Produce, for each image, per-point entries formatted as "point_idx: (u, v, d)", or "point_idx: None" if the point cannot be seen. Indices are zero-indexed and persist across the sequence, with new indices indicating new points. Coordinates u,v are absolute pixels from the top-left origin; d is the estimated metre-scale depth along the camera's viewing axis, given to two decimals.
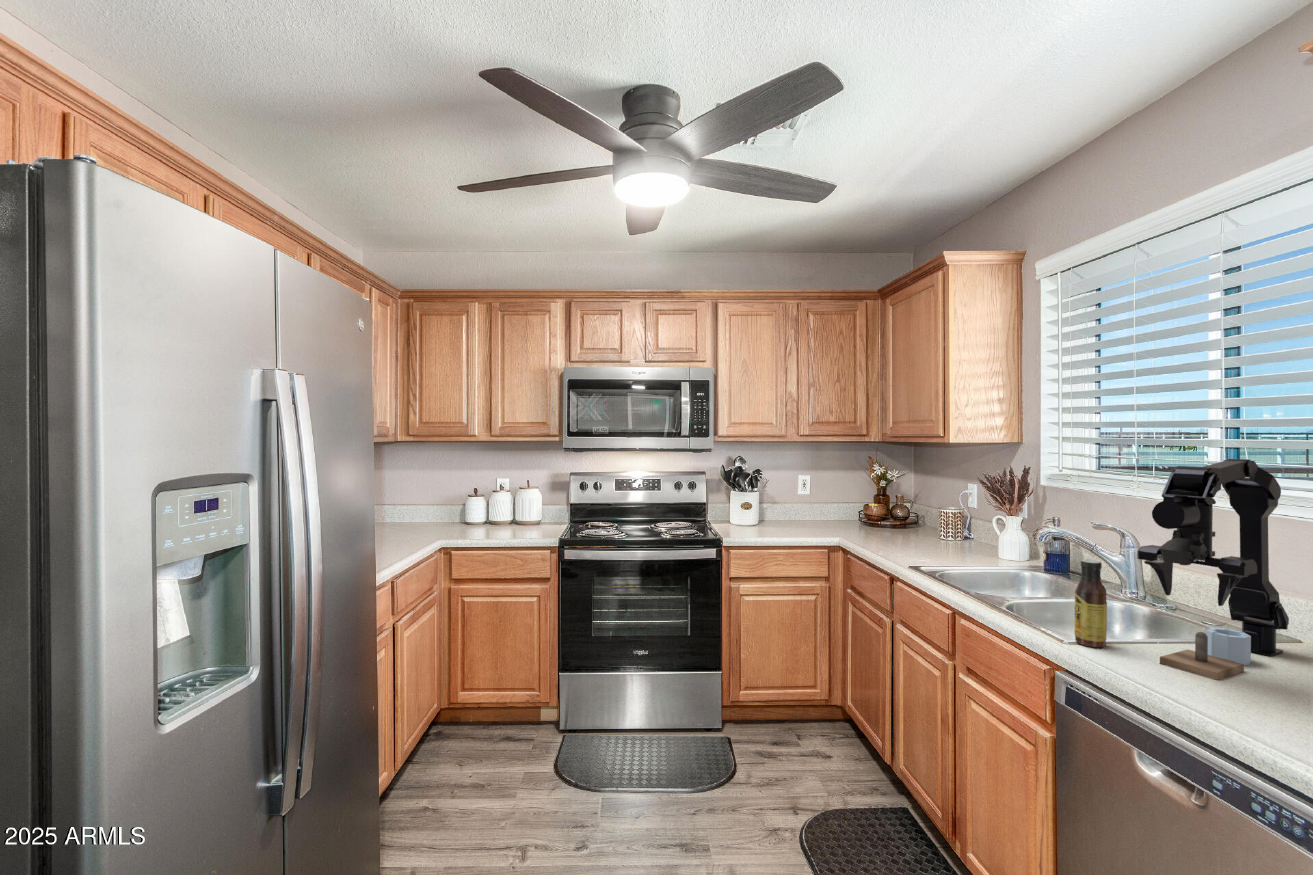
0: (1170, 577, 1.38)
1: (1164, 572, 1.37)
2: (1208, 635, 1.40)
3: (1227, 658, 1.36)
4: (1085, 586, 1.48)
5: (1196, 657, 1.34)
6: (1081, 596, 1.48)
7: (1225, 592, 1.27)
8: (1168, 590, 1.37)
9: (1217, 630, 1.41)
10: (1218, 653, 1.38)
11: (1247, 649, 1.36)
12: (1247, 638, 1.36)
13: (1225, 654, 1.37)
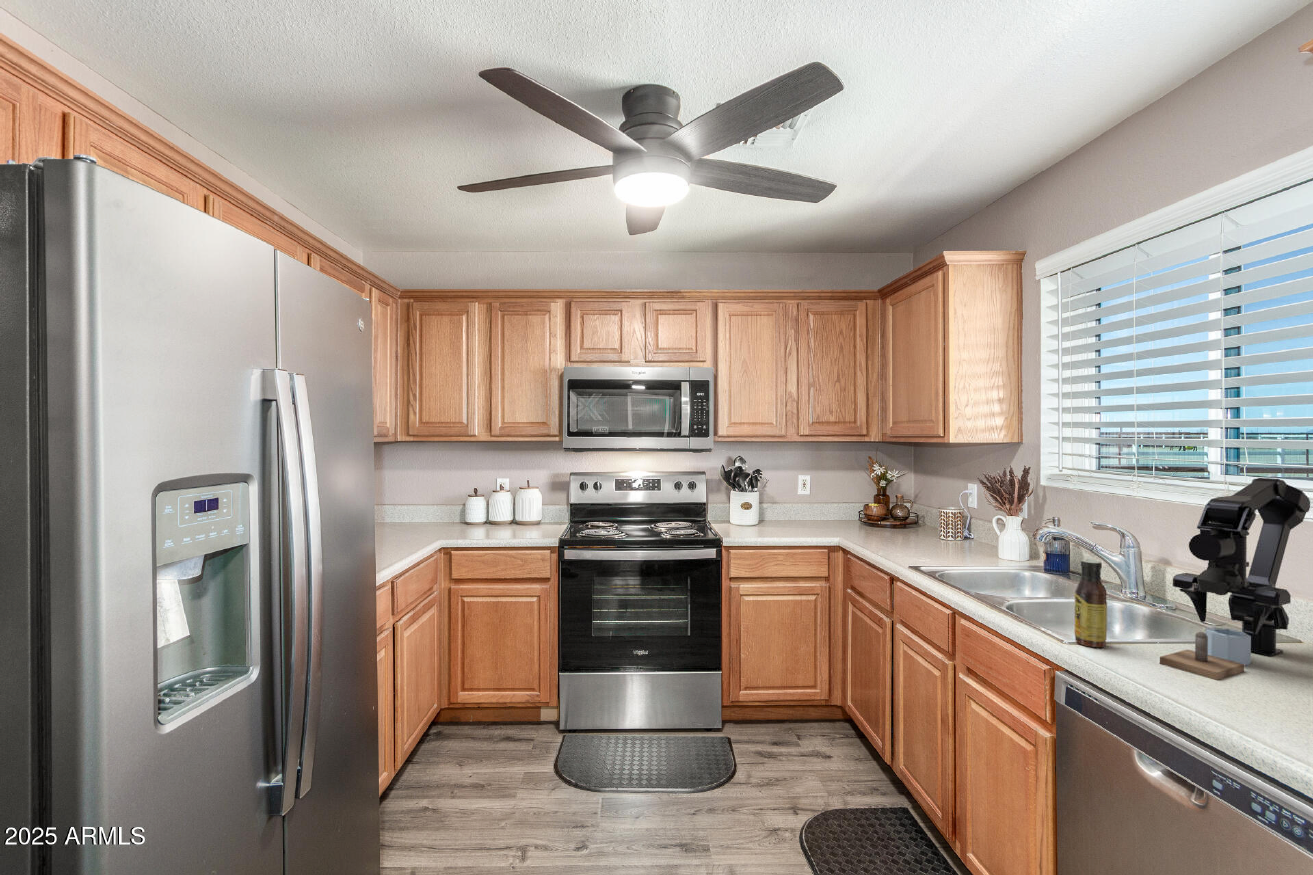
0: (1204, 604, 1.44)
1: (1199, 599, 1.43)
2: (1208, 635, 1.40)
3: (1227, 658, 1.36)
4: (1085, 586, 1.48)
5: (1196, 657, 1.34)
6: (1081, 596, 1.48)
7: (1260, 621, 1.34)
8: (1203, 617, 1.43)
9: (1217, 630, 1.41)
10: (1218, 653, 1.38)
11: (1247, 649, 1.36)
12: (1247, 638, 1.36)
13: (1225, 654, 1.37)
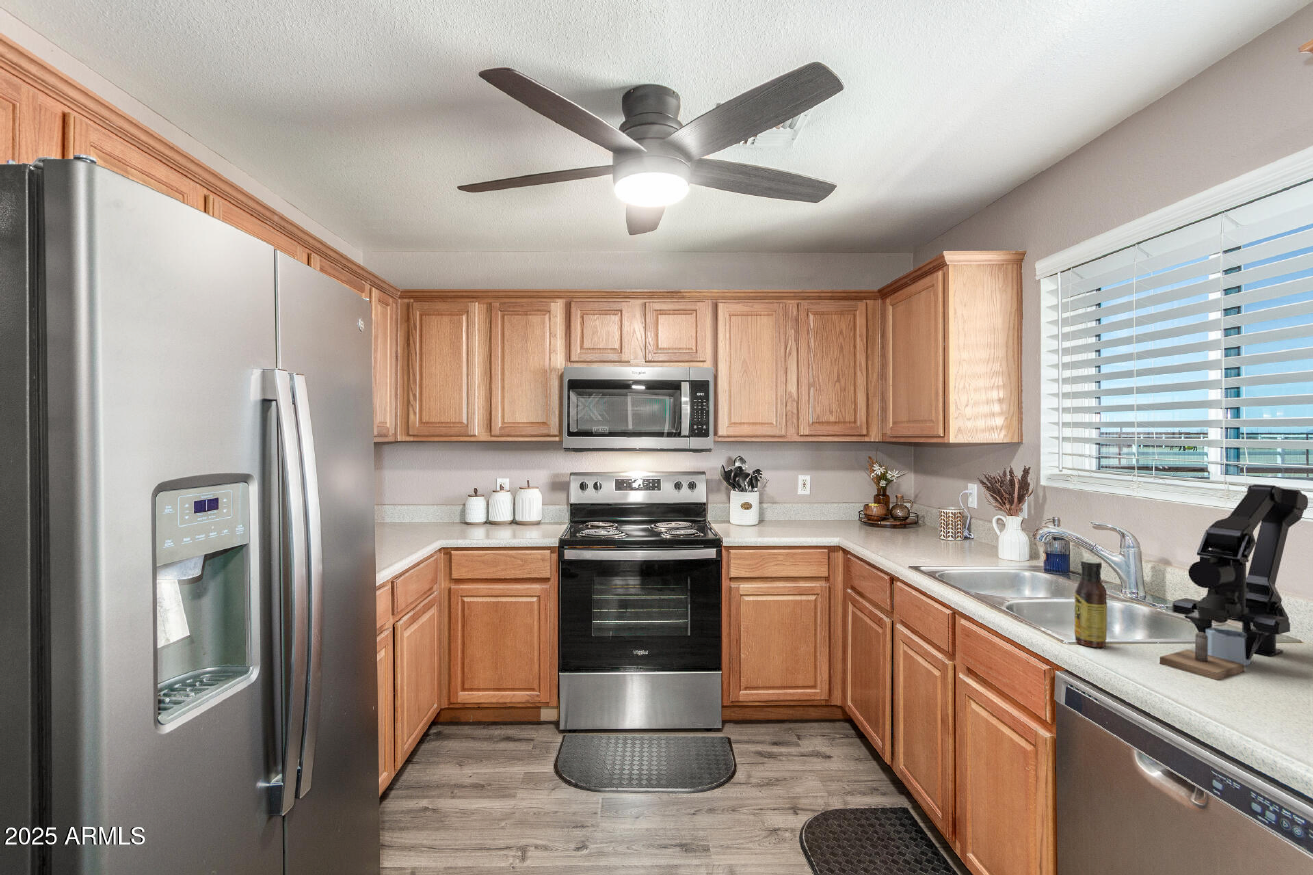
0: None
1: (1204, 626, 1.42)
2: (1208, 635, 1.40)
3: (1227, 658, 1.36)
4: (1085, 586, 1.48)
5: (1196, 657, 1.34)
6: (1081, 596, 1.48)
7: (1253, 647, 1.35)
8: None
9: (1217, 630, 1.41)
10: (1218, 653, 1.38)
11: None
12: None
13: (1225, 654, 1.37)
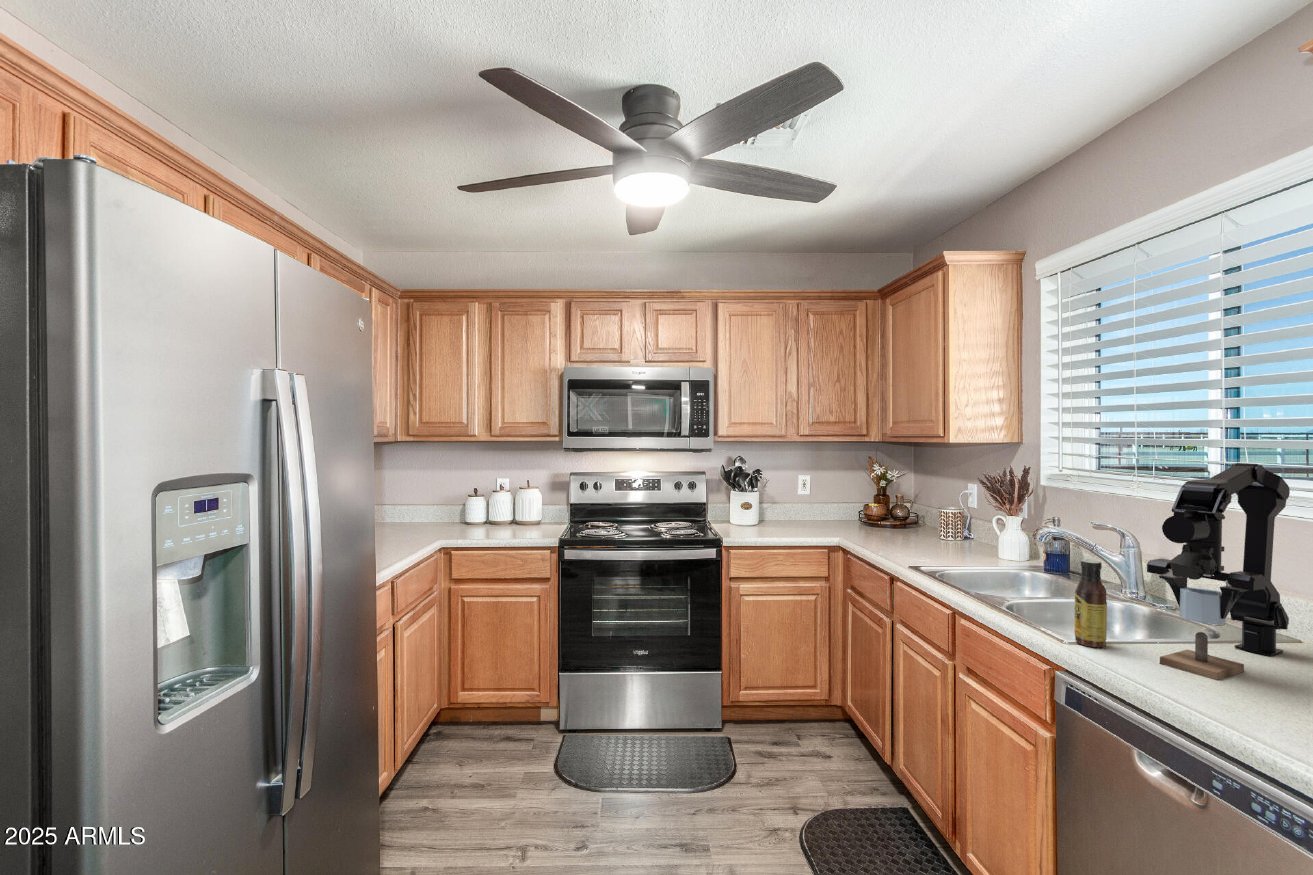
0: None
1: (1178, 586, 1.37)
2: (1182, 594, 1.36)
3: (1201, 617, 1.32)
4: (1085, 586, 1.48)
5: (1196, 657, 1.34)
6: (1081, 596, 1.48)
7: (1228, 605, 1.30)
8: None
9: (1192, 590, 1.37)
10: (1192, 612, 1.33)
11: None
12: None
13: (1199, 613, 1.32)
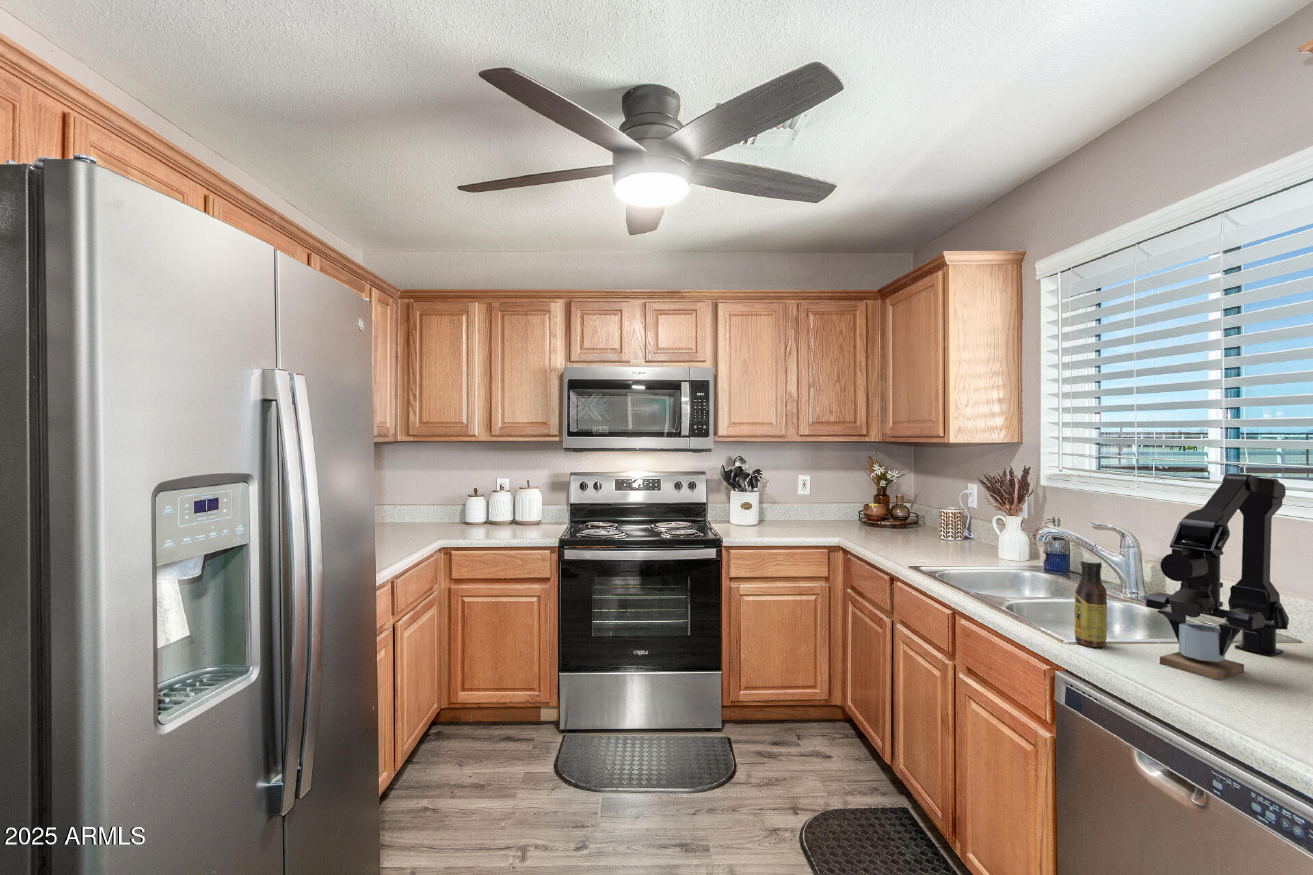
0: None
1: (1177, 622, 1.37)
2: (1181, 630, 1.36)
3: (1200, 654, 1.32)
4: (1085, 586, 1.48)
5: None
6: (1081, 596, 1.48)
7: (1227, 642, 1.30)
8: None
9: (1191, 625, 1.37)
10: (1191, 649, 1.33)
11: None
12: None
13: (1198, 650, 1.32)
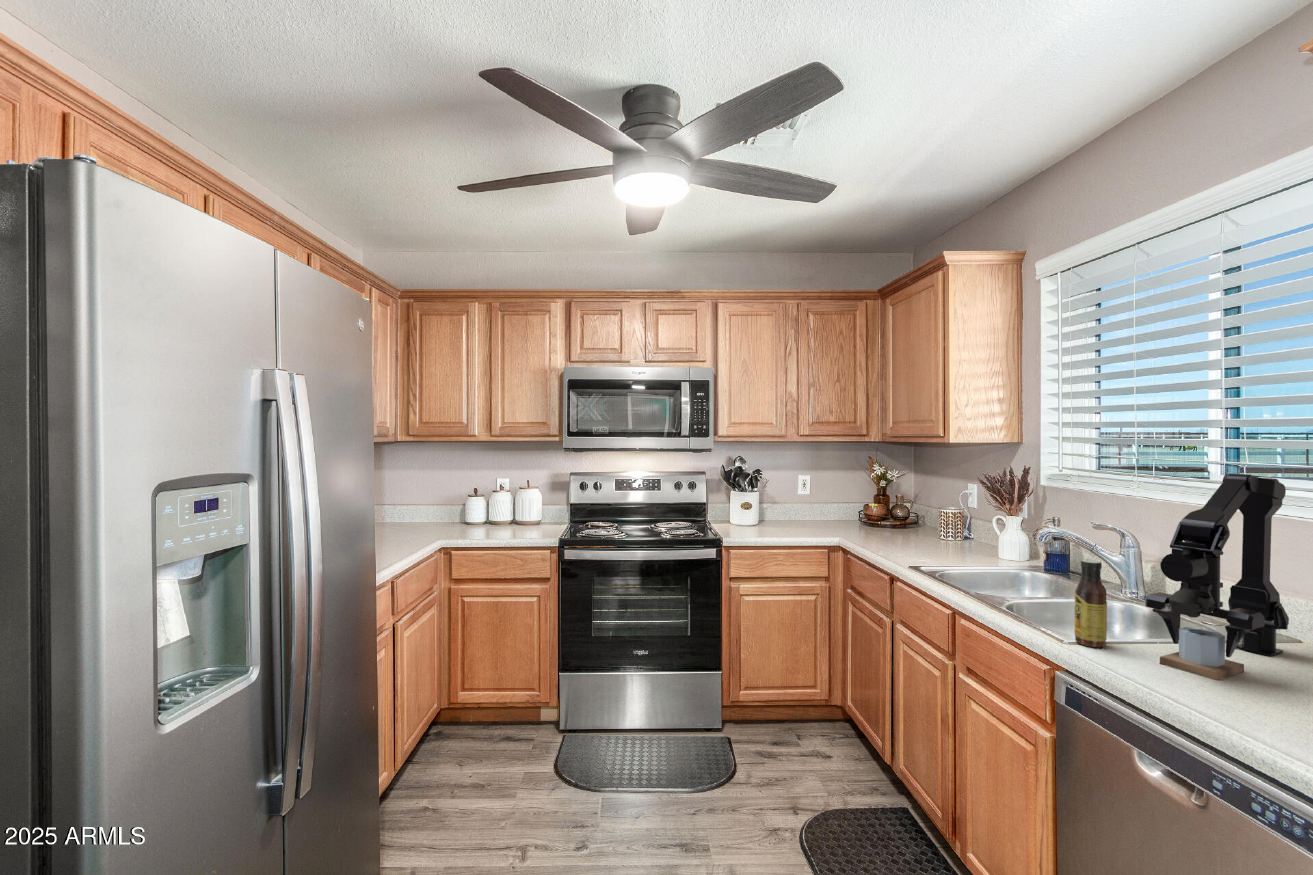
0: (1178, 625, 1.39)
1: (1172, 620, 1.38)
2: (1181, 635, 1.36)
3: (1200, 659, 1.32)
4: (1085, 586, 1.48)
5: None
6: (1081, 596, 1.48)
7: (1233, 644, 1.29)
8: (1176, 638, 1.38)
9: (1191, 630, 1.37)
10: (1191, 654, 1.33)
11: (1221, 649, 1.31)
12: (1221, 638, 1.31)
13: (1198, 655, 1.32)
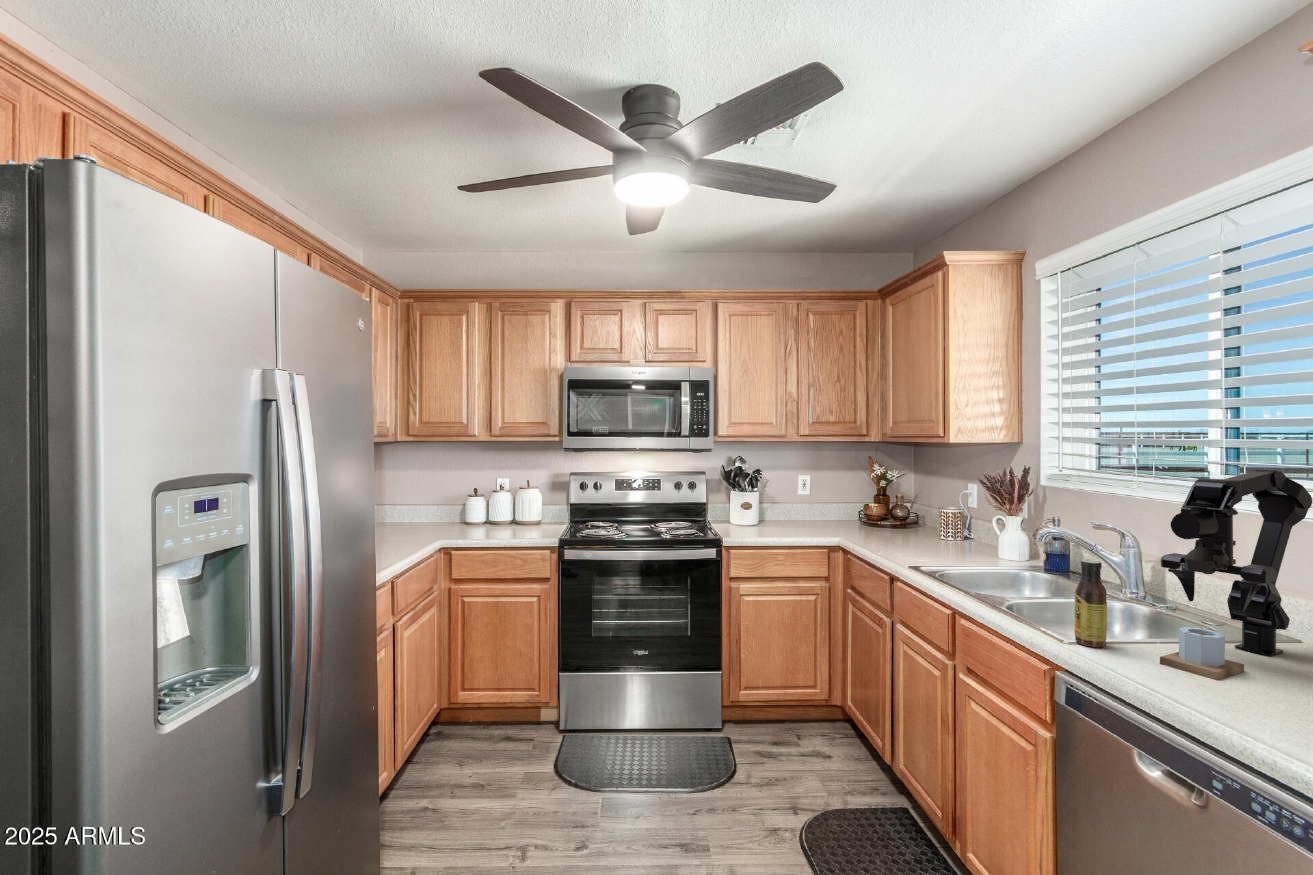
0: (1192, 584, 1.45)
1: (1187, 579, 1.44)
2: (1181, 635, 1.36)
3: (1200, 659, 1.32)
4: (1085, 586, 1.48)
5: None
6: (1081, 596, 1.48)
7: (1247, 598, 1.35)
8: (1191, 596, 1.44)
9: (1191, 630, 1.37)
10: (1191, 654, 1.33)
11: (1221, 649, 1.31)
12: (1221, 638, 1.31)
13: (1198, 655, 1.32)
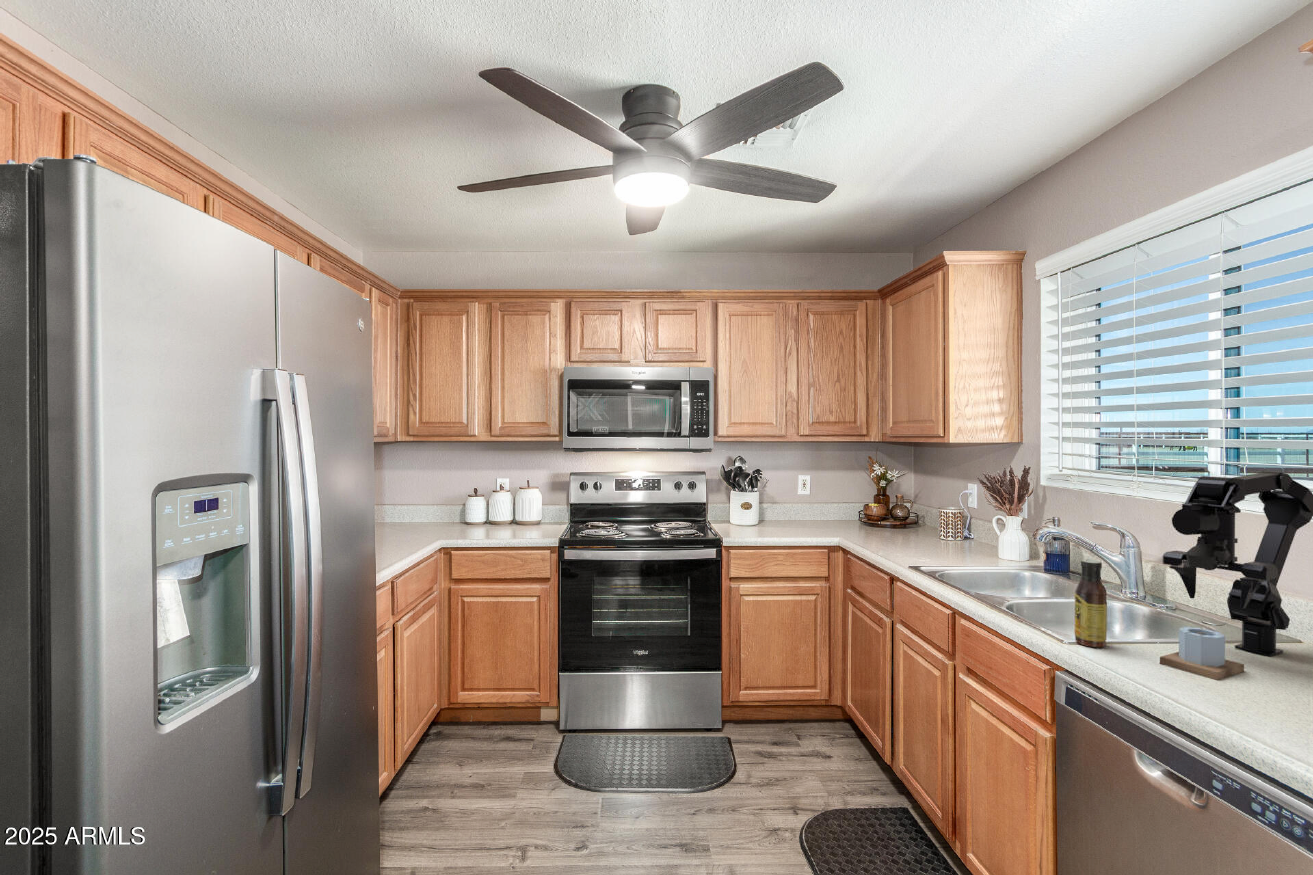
0: (1194, 581, 1.46)
1: (1188, 576, 1.45)
2: (1181, 635, 1.36)
3: (1200, 659, 1.32)
4: (1085, 586, 1.48)
5: None
6: (1081, 596, 1.48)
7: (1247, 595, 1.35)
8: (1192, 593, 1.45)
9: (1191, 630, 1.37)
10: (1191, 654, 1.33)
11: (1221, 649, 1.31)
12: (1221, 638, 1.31)
13: (1198, 655, 1.32)
